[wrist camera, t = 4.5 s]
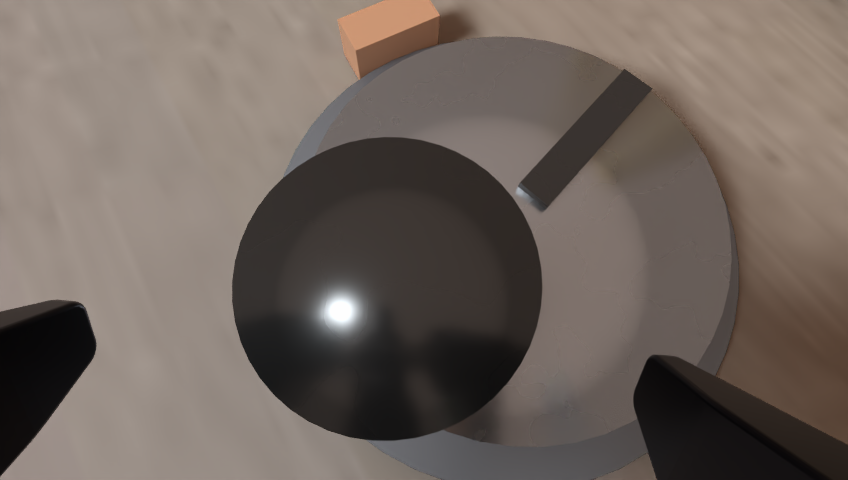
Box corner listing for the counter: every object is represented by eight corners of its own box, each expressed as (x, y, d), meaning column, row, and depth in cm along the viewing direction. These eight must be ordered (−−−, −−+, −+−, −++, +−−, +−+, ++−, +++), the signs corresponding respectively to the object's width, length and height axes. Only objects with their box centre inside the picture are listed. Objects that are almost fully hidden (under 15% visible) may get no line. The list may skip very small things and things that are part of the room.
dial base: (250, 489, 15) (227, 504, 13) (296, 20, 20) (284, -18, 19) (772, 486, 16) (823, 500, 14) (683, 28, 21) (710, -8, 19)
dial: (482, 6, 20) (558, -390, 10) (774, 219, 17) (1285, -14, 7) (220, 247, 16) (-84, 27, 6) (535, 554, 14) (863, 999, 4)
